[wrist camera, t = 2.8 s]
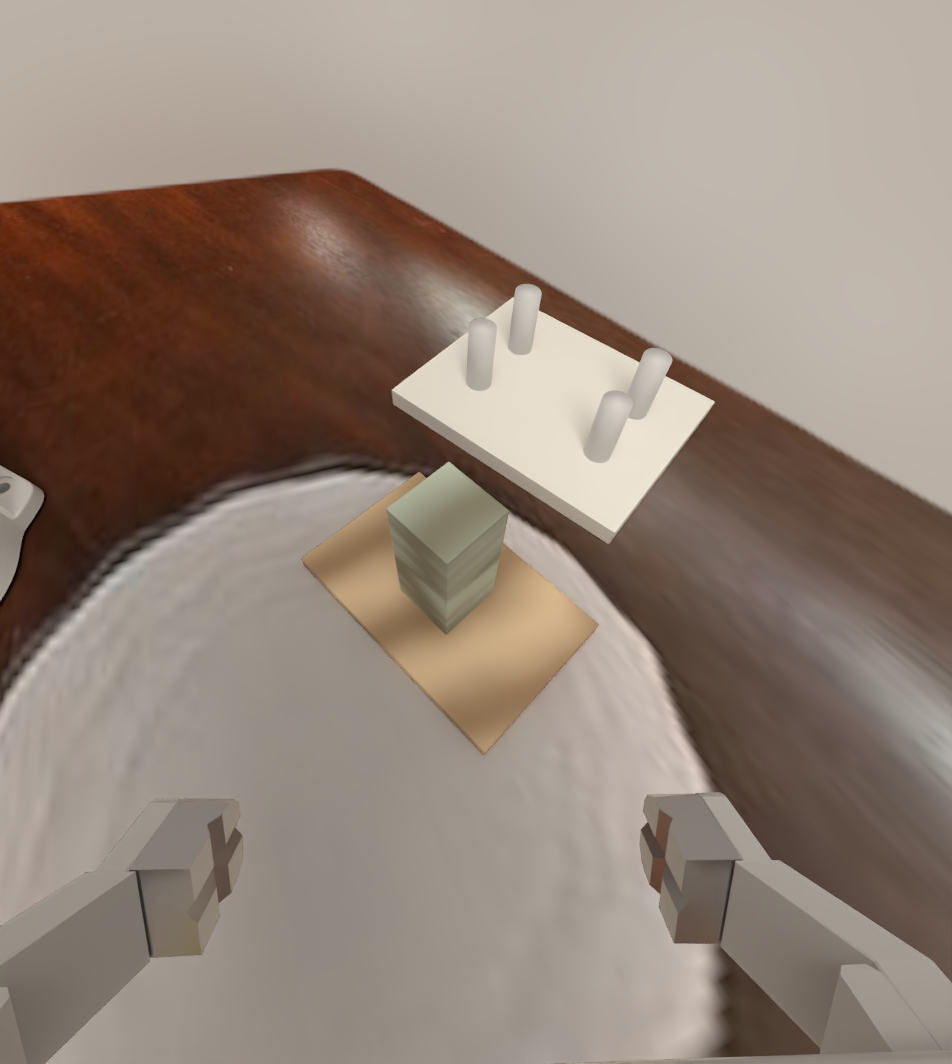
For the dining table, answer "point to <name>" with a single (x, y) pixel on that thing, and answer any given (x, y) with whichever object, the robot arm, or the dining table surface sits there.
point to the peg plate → (556, 411)
